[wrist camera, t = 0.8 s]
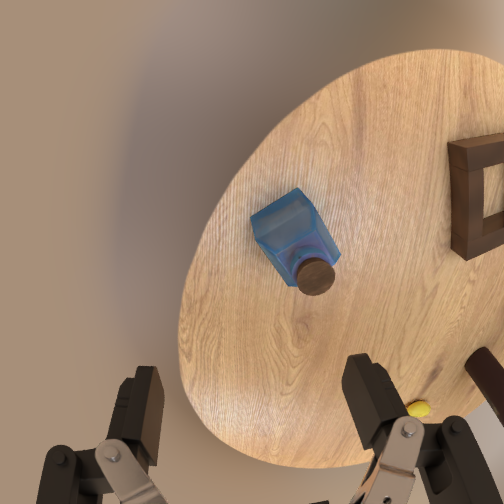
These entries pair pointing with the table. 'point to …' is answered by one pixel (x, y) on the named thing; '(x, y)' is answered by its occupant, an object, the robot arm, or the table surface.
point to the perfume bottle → (297, 243)
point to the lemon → (419, 409)
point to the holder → (474, 195)
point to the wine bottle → (488, 379)
